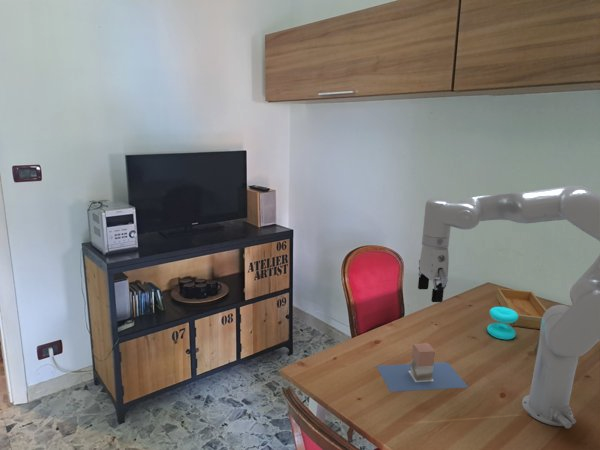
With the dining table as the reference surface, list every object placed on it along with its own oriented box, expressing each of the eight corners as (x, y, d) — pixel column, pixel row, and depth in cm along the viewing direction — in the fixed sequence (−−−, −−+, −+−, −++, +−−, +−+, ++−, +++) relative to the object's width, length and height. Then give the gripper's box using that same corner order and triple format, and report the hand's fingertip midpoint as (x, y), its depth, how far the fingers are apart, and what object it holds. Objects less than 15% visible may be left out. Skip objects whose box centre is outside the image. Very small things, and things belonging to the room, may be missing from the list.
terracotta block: (433, 365, 130) (435, 351, 129) (418, 366, 130) (419, 352, 128) (426, 357, 135) (428, 343, 134) (411, 357, 134) (413, 343, 133)
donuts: (489, 303, 167) (516, 307, 164) (485, 326, 170) (512, 331, 167) (491, 314, 158) (520, 318, 155) (487, 338, 161) (516, 343, 157)
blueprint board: (468, 389, 129) (468, 386, 128) (390, 393, 125) (390, 391, 125) (447, 363, 142) (447, 361, 142) (376, 367, 139) (376, 365, 139)
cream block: (431, 380, 131) (433, 365, 130) (416, 380, 131) (418, 366, 130) (425, 370, 136) (426, 357, 135) (410, 371, 136) (411, 357, 134)
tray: (495, 298, 200) (497, 287, 198) (530, 302, 196) (532, 290, 195) (511, 327, 171) (513, 314, 169) (552, 332, 167) (555, 319, 166)
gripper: (462, 249, 115) (455, 306, 119) (434, 233, 132) (429, 284, 136) (436, 249, 114) (430, 307, 118) (411, 233, 131) (407, 284, 135)
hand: (429, 295), depth 127 cm, fingers open, 9 cm apart
